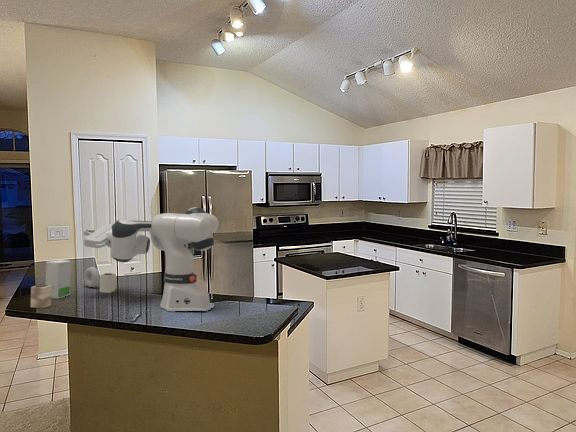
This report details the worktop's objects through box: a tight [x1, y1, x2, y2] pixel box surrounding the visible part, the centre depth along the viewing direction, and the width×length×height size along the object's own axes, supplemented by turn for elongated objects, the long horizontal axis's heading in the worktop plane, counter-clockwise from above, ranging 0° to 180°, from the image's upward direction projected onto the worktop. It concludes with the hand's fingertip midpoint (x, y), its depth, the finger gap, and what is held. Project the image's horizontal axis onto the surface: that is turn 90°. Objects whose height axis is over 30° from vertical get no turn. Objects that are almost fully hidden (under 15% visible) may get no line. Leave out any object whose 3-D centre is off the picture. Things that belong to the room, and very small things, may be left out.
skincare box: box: [45, 259, 72, 300], centre depth 183 cm, size 8×7×16 cm
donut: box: [83, 266, 101, 288], centre depth 204 cm, size 10×4×10 cm, turn 59°
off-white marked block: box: [99, 272, 117, 294], centre depth 197 cm, size 5×5×8 cm
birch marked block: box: [30, 284, 52, 309], centre depth 167 cm, size 5×5×8 cm
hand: (85, 232), depth 191 cm, fingers closed
